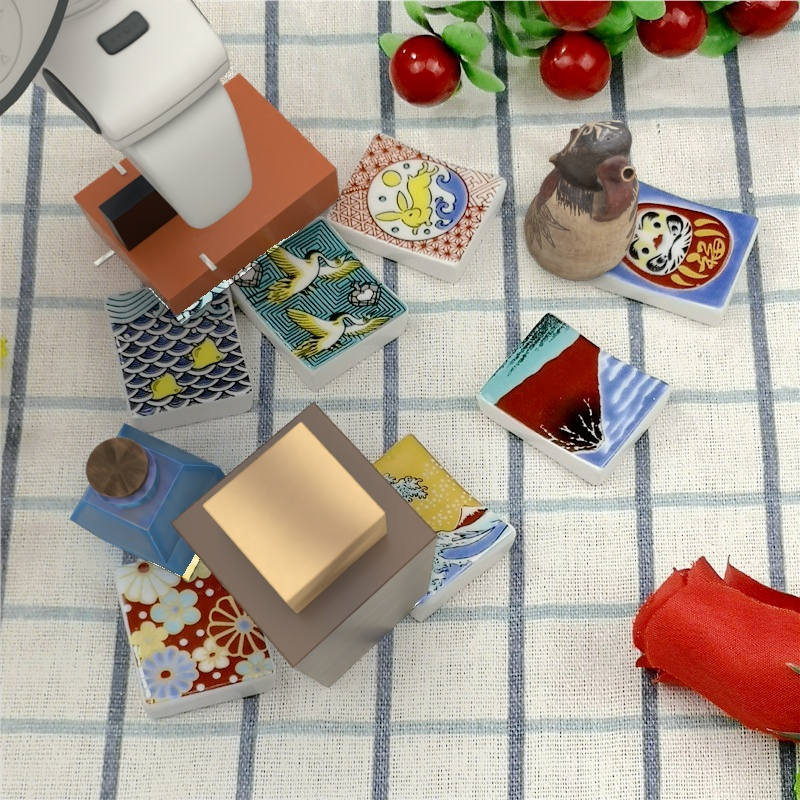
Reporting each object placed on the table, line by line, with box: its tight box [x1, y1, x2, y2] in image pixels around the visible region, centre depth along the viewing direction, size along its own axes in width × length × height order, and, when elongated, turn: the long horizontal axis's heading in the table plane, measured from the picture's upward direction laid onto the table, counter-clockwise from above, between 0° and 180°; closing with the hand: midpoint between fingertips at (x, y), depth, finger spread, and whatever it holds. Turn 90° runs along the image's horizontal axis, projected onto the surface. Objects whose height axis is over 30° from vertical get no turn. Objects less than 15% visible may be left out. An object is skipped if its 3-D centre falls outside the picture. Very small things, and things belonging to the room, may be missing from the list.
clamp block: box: [73, 72, 341, 315], centre depth 67 cm, size 16×11×4 cm
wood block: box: [203, 422, 387, 613], centre depth 40 cm, size 5×5×4 cm
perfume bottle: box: [69, 422, 226, 576], centre depth 57 cm, size 6×6×12 cm
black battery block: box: [98, 174, 178, 251], centre depth 63 cm, size 6×1×4 cm, turn 132°
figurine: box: [523, 119, 640, 281], centre depth 63 cm, size 7×7×12 cm
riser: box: [171, 401, 439, 689], centre depth 52 cm, size 8×8×20 cm
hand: (132, 142), depth 57 cm, fingers open, 8 cm apart
